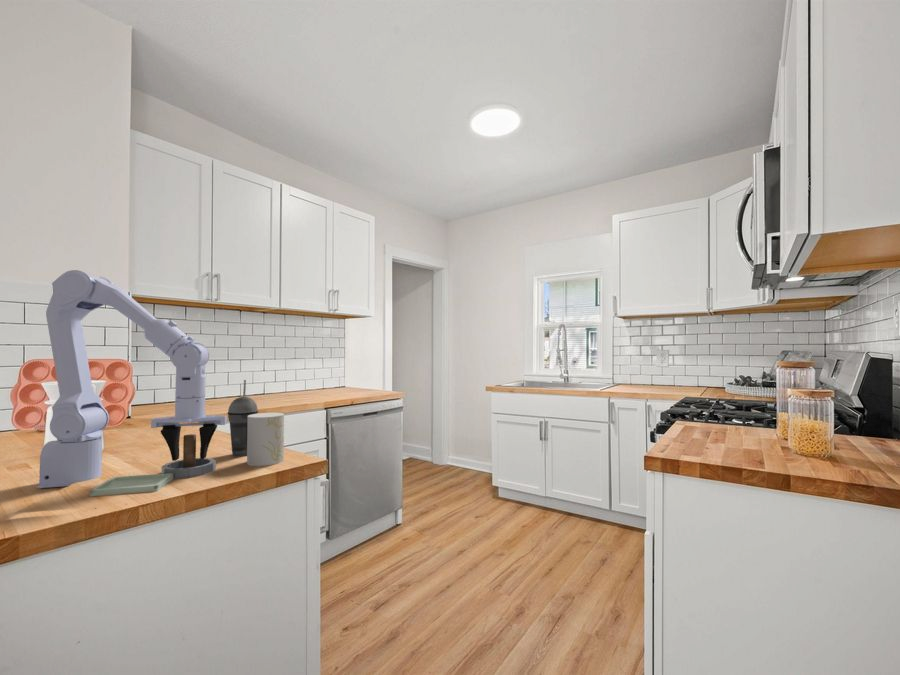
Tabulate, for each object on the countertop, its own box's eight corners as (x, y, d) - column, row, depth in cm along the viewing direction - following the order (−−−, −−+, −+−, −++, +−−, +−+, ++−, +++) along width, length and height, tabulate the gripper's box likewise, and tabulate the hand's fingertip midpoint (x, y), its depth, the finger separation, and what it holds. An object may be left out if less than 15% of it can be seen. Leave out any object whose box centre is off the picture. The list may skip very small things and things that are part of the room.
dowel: (181, 473, 95) (181, 436, 95) (185, 470, 97) (185, 434, 98) (193, 472, 96) (194, 435, 96) (197, 469, 98) (197, 433, 98)
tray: (89, 500, 80) (89, 490, 80) (113, 485, 89) (113, 477, 89) (157, 495, 83) (157, 485, 83) (174, 481, 92) (174, 472, 92)
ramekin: (154, 483, 90) (154, 470, 90) (171, 471, 100) (172, 459, 100) (207, 479, 93) (208, 467, 93) (219, 467, 103) (220, 456, 103)
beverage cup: (252, 452, 118) (253, 378, 119) (262, 457, 113) (262, 379, 113) (223, 457, 113) (224, 379, 114) (231, 462, 108) (232, 381, 108)
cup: (270, 470, 100) (271, 417, 101) (239, 468, 102) (239, 417, 102) (290, 461, 108) (290, 413, 109) (261, 460, 110) (261, 412, 110)
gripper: (145, 400, 91) (144, 465, 91) (221, 397, 95) (220, 460, 95) (158, 396, 98) (157, 457, 98) (229, 394, 102) (228, 453, 101)
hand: (189, 458), depth 97 cm, fingers open, 5 cm apart
